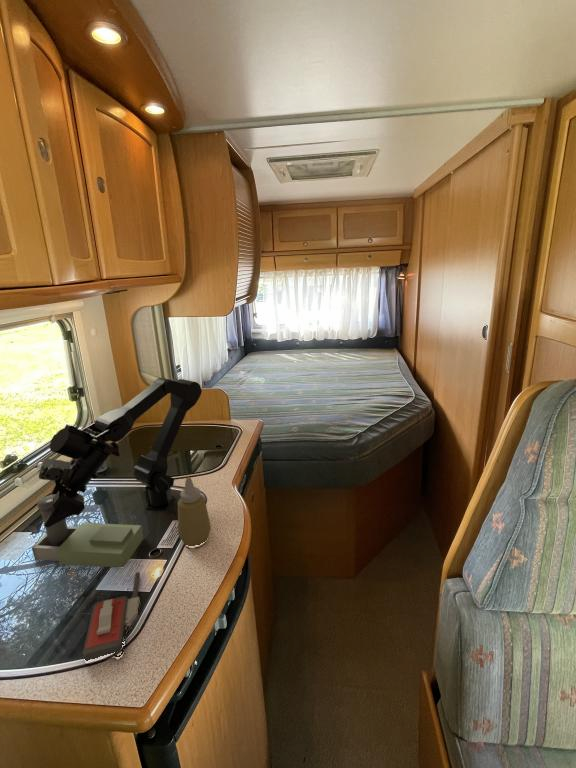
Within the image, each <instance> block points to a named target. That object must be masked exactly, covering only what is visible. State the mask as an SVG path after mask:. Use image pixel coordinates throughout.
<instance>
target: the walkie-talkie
mask: <svg viewBox="0 0 576 768" xmlns="http://www.w3.org/2000/svg"><path fill="white" fill-rule="evenodd" d="M140 575H141V573H140V572H139V571H137V572H135V573H134V579H133V588H132V595H131V597H130V598H129V597H127V596H123V595H122V596H118V597H115V598H110V599H109V598H108V599H103V600H101V601H98V602H96V603H95V604H94V605H93V607H92V611H91V615H90V619H89V624H88V629H87V633H86V637H85V641H84V645H83V650H82V658H83V660H84V659H85V660H86V661H88V660H90V659H95V658H98V657H100V656H104V655H107V654H111V653H114V652H115V654H114V656H115V657H120V656H121V655H122V654H123V652H124V650H123V649H122V653H121V655H119V656H117V655H116V652H117V651H119V650H120V649H121V648H122V645H124V644H123V643H122V642H124V641H125V640H124V641H123V637H124V639H125V636H126V632H127V630H128V629H129V627H130V624H131V622H132V621H133V620H134V619H135V618H136V616H137V614H138V607H139V603H140V604H141V598H140V596H139V594H138V593H139V588H140V587H139V585H140V577H141V576H140ZM139 608H140V607H139ZM125 627H127V629H126V630H125ZM123 648H124V646H123Z"/></svg>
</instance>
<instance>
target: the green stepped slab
mask: <svg viewBox="0 0 576 768" xmlns="http://www.w3.org/2000/svg"><path fill="white" fill-rule="evenodd" d="M67 528H68V533H69V537H68V538H67V540H66V541H65V542H64V543H63V544H62V545H61V546H60V547H57V546H50V545H49V541H48V537H47V533H45V534H44V535H43V536H42V537H41V538H40V539H39V540H37V542H36V543H34V545H32V547H31V551H32V555H33V558H34V560H35V561H36V560H37V561H51V562H52V561H53V562H54V561H56V562H58V563H59V565H63V566H65V565H66V566H82V567H83V566H84V567H85V566H86V567H87V566H88V567H98V568H99V567H102V568H116V567H124V566H125V567H126V565H127V564H128V563H129V561H130V559H131V557H132V556H133V555H134V553H135V552H136V550H137V549H138V548H139V546H140V545H141V543H142V542H143V540H144V535H143V528H142V525H141V524H140V525H139V524H119V523H95V522H94V523H93V522H82V523H81V524H79V526H70V525H69V526H68V525H67ZM125 567H124V568H125Z"/></svg>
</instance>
